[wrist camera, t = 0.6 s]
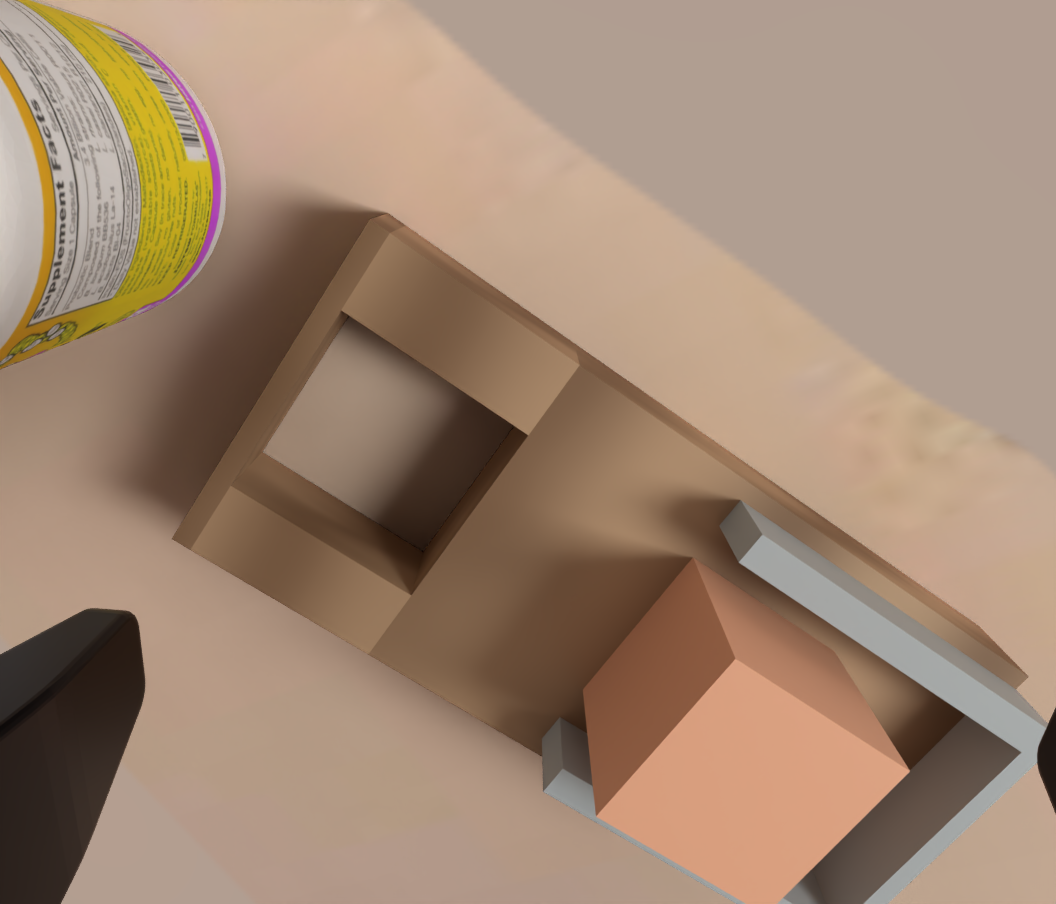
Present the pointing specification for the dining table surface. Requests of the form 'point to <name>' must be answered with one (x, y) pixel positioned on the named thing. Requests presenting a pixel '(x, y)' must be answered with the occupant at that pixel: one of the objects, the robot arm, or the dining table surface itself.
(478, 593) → the tray
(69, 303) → the supplement bottle
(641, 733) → the block
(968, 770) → the grey u-shaped piece
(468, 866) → the dining table surface
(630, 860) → the dining table surface
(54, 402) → the dining table surface
